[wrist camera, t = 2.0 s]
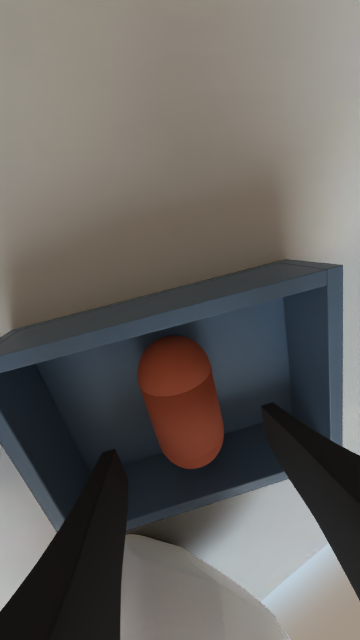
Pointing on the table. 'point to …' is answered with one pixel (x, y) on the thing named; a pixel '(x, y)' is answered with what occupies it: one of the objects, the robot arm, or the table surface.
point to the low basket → (127, 400)
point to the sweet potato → (181, 400)
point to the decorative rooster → (186, 598)
